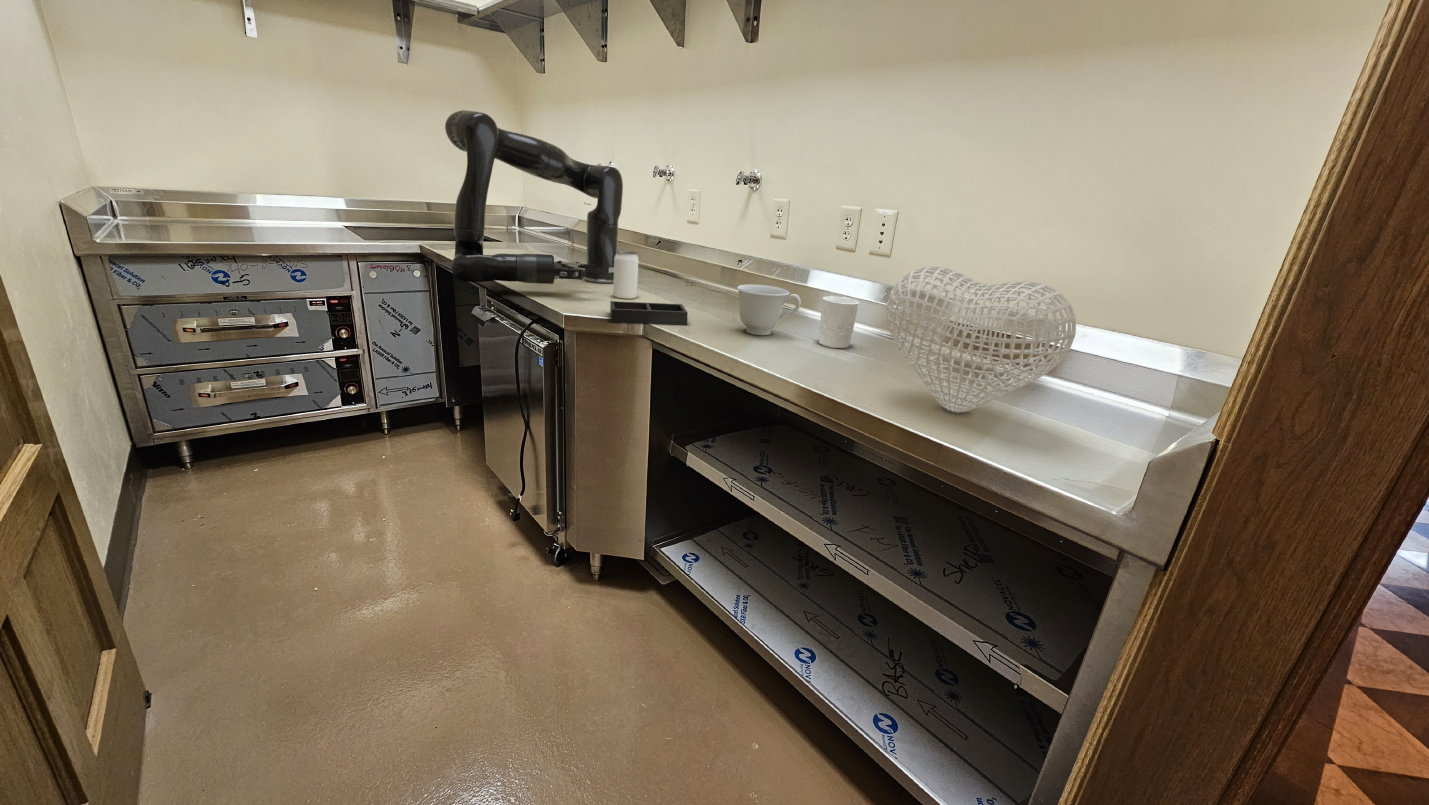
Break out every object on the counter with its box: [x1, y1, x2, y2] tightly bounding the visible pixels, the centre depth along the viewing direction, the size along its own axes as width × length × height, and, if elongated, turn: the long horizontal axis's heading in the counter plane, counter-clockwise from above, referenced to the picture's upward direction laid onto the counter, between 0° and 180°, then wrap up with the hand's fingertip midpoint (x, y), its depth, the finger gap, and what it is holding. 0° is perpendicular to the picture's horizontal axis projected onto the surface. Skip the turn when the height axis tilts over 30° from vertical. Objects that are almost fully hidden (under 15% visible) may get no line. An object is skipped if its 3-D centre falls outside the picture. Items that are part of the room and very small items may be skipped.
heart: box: [885, 266, 1077, 413], centre depth 96 cm, size 28×16×22 cm, turn 46°
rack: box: [609, 300, 689, 326], centre depth 144 cm, size 9×17×3 cm, turn 101°
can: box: [612, 250, 639, 300], centre depth 165 cm, size 6×6×12 cm
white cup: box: [818, 295, 860, 349], centre depth 134 cm, size 8×8×10 cm
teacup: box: [736, 283, 802, 336], centre depth 138 cm, size 12×15×10 cm
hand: (598, 271), depth 163 cm, fingers open, 8 cm apart
